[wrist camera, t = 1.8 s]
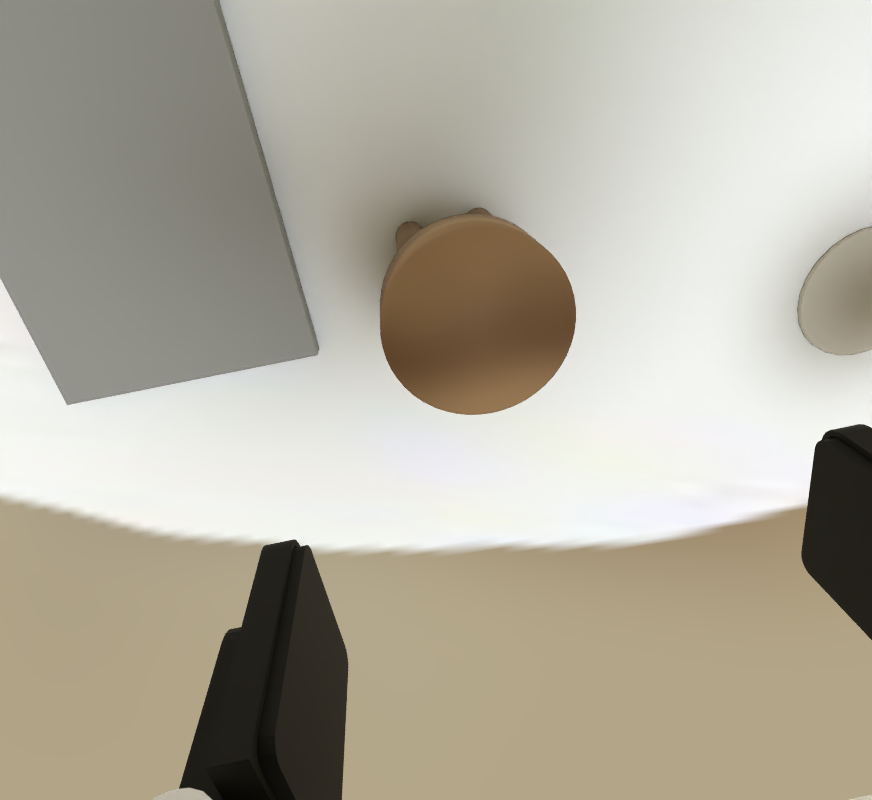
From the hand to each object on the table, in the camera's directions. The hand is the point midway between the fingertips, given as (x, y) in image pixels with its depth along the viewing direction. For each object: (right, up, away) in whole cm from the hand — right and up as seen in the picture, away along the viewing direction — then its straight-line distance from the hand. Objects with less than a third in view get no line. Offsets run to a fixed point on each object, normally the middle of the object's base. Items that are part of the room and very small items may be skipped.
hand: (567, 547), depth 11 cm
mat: (-17, +13, +16) cm, 26 cm away
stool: (-2, +10, +19) cm, 21 cm away
